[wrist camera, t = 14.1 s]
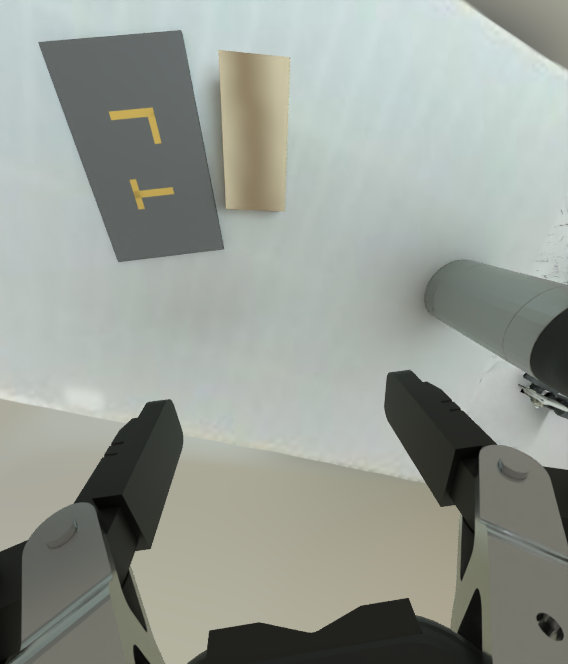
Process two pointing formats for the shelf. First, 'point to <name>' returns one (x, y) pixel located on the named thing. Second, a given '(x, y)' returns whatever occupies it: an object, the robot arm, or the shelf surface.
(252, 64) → the maple block
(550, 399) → the can opener
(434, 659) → the robot arm
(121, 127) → the picture tile
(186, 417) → the shelf surface
